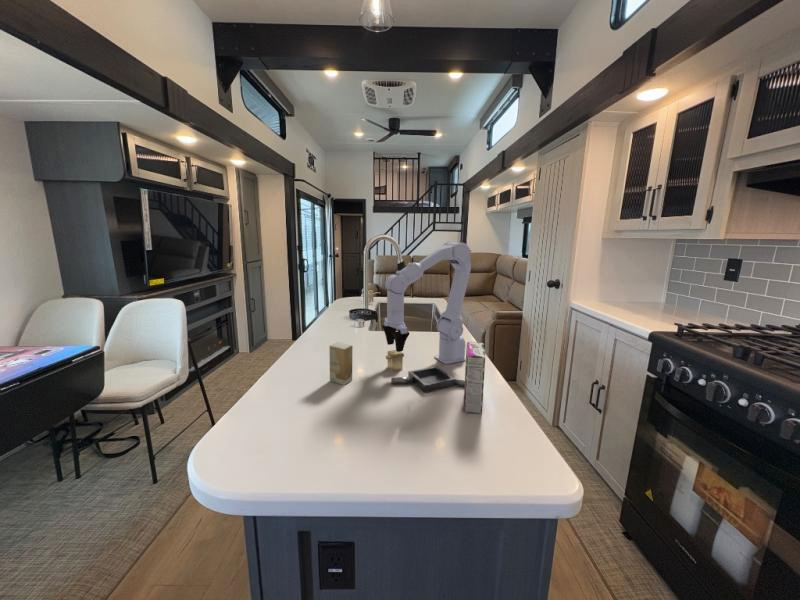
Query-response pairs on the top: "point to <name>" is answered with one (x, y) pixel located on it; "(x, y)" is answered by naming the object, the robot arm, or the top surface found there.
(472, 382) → the candy bar box
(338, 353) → the skincare box
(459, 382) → the steel shaft
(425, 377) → the grey square tray
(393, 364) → the brass block with pegs
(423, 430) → the top surface
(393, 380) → the steel shaft
